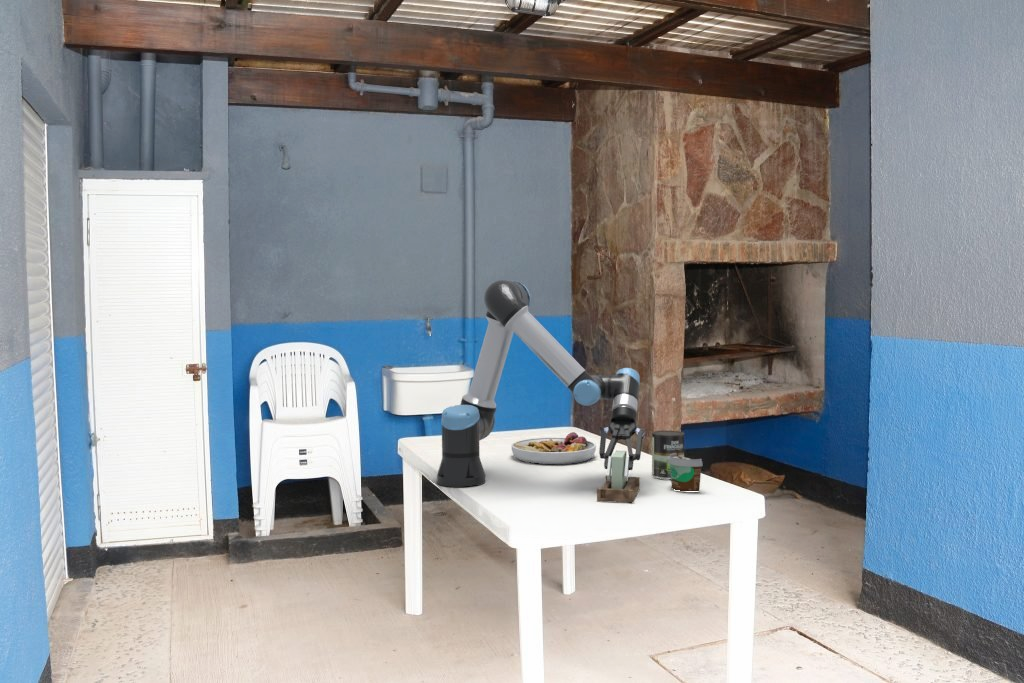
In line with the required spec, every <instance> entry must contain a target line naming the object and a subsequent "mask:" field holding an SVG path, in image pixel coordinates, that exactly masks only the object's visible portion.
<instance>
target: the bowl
mask: <svg viewBox="0 0 1024 683" xmlns="http://www.w3.org/2000/svg"><path fill="white" fill-rule="evenodd" d="M596 450H597V445H596V443H595V442H593V441H590V440H587V438H586V437H585V436H579V435H578V433H577V432H575V431H574V432H570V433H568V434H567V435H566V436H565V437H538V438H530V439H522V440H518V441H514V442H513V443H512V444H511V452H512V454H513V456H514V457H515V458H516V459H518V460H519V461H522V462H524V461H525V463H528V462H531V463H530V464H534V463H539V464H538V465H545V464H563V465H572V463H574V464H579V462H580V463H583V461H584V462H586V461H588V460H591V458H592V457H593V456H594V455H595V453H596Z"/></svg>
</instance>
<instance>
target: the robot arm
mask: <svg viewBox="0 0 1024 683" xmlns="http://www.w3.org/2000/svg"><path fill="white" fill-rule="evenodd" d="M531 300H532V299H531V293H530V291H529V289H528V288H527V287H526V285H524V284H523V283H521V282H519V281H517V280H513V279H508V280H507V279H499V280H495V281H493V282H492V283H490V285H488V287H487V288H486V290H485V292H484V296H483V302H484V305H485V308H486V309H487V311H486V314H485V318H486V320H487V322H488V324H487V328H486V332H485V335H484V338H483V342H482V345H481V348H480V352H479V356H478V359H477V363H476V366H475V368H474V373H473V377H472V380H471V384H470V386H469V390H468V392H467V393H466V394H464V395H462V397H461V401H460V404H457V405H456V404H455V405H453V406H452V405H451V406H447V407H446V408H444V409H443V410H442V412H441V419H440V420H441V421H440V422H441V423H440V424H441V450H442V451H441V456H442V457H441V460H440V464H439V467H438V470H437V474H436V484H438V485H439V486H444V487H450V488H464V487H463V486H470V487H473V486H472V485H477V486H479V485H478V484H481V483H483V484H485V483H486V473H485V470H484V469H485V468H484V467H483V464H482V461H481V458H480V456H481V455H480V441H482V440H484V439H486V438H487V437H488V436H490V434H491V433H492V432H493V429H494V428H495V424H496V416H495V414H496V411H497V403H496V401H495V397H496V393H497V390H498V387H499V384H500V380H501V378H502V373H503V370H504V366H505V364H506V359H507V356H508V353H509V350H510V347H511V346H510V345H511V342H512V339H513V336H514V334H515V335H516V336H517V337H518V338H519V339H520V340H521V341H522V342H523V343H524V344H525V345H526V346H527V347H528V348H529V350H530V351H532V352H533V354H534V355H535V356H537V358H538V359H539V360H540V361H541V362H542V363H543V364H544V365H545V366H546V367H547V368H548V369H549V370H550V371H551V372H552V374H554V375H555V376H556V378H557V379H558V380H560V382H561V383H563V385H565V387H566V388H567V389H568V390H569V391H570V392H571V393H572V394H573V398H574V399H575V401H576V402H577V404H579V405H582V406H584V407H585V406H592V405H594V404H595V403H597V402H599V401H600V400H610V401H611V400H613V401H612V407H611V408H612V409H611V417H610V423H609V424H608V426H607V427H604V426H600V427H599V433H600V441H599V450H598V451H599V452H598V454H599V458H600V459H604V463H603V465H604V466H603V467H604V469H605V470H606V476H607V480H610V477H611V476H612V456H613V454H614V450H615V447H616V444H617V443H619V442H618V441H620V440H623V441H625V442H626V445H627V452H628V454H627V455H628V456H626V464H625V474H624V477H625V481H628V477H629V472H630V471H633V468H634V462H635V461H640V460H641V455H642V444H643V439H644V437H645V436H646V432H645V428H643V427H641V428H639V427H637V425H636V424H637V416H638V415H637V414H638V405H639V396H640V388H641V386H640V380H641V379H640V378H641V376H640V374H639V372H638V371H637V370H635V369H633V368H631V367H623V368H620V369H618V370H617V372H616V374H615V375H603V374H602V375H601V374H600V375H599V374H590V373H588V371H586V369H585V368H584V367H583V366H582V365H581V364H580V363H579V362H578V361H577V360H576V359H575V358H574V357H573V356H572V355H571V354H570V353H569V352H568V351H567V350H566V348H564V346H562V344H561V343H559V342H558V340H557V339H556V338H555V337H554V336H553V335H552V334H551V333H550V332H549V331H548V330H547V329H546V328H545V327H544V326H543V325H542V324H541V323H540V322H539V321H538V320H537V318H535V316H534V315H532V314H531V313H530V312H529V309H530V308H529V307H530V306H531ZM609 433H610V434H611V437H610V438H611V439H610V441H609V442H608V446H607V449H606V442H607V436H608V434H609ZM635 433H636V443H635V444H636V446H635V453H633V447H632V441H631V438H632V436H634V434H635ZM484 482H485V483H484ZM481 485H482V484H481Z"/></svg>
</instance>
